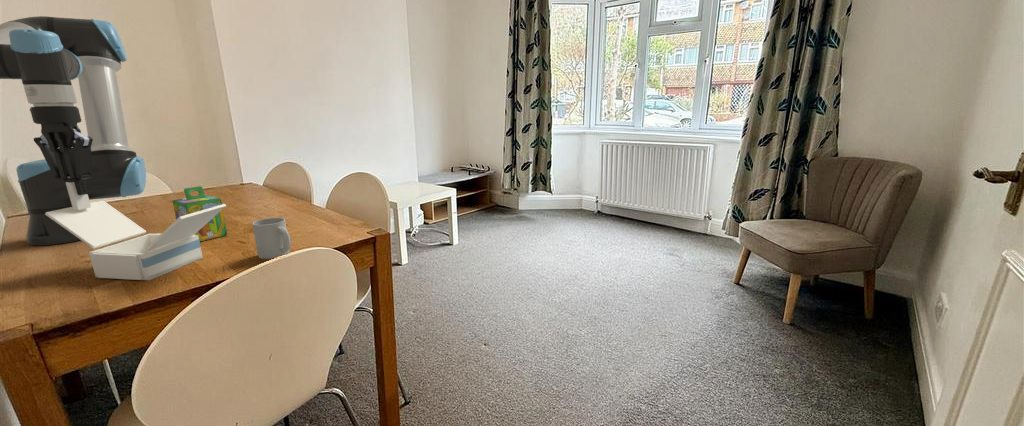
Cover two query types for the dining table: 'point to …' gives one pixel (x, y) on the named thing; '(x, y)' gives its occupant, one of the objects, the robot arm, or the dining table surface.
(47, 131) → the robot arm
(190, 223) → the flap
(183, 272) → the dining table surface
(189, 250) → the carton
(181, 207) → the chalk box
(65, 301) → the dining table surface
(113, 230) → the flap
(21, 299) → the dining table surface
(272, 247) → the cup
